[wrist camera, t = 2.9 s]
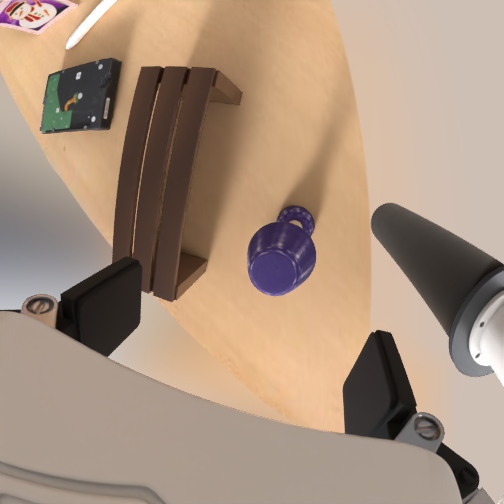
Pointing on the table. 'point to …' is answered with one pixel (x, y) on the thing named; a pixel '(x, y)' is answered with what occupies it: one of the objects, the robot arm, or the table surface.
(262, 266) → the toy lamp
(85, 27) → the marker
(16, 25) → the greeting card
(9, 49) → the table surface
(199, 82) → the bench
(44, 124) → the disk drive
